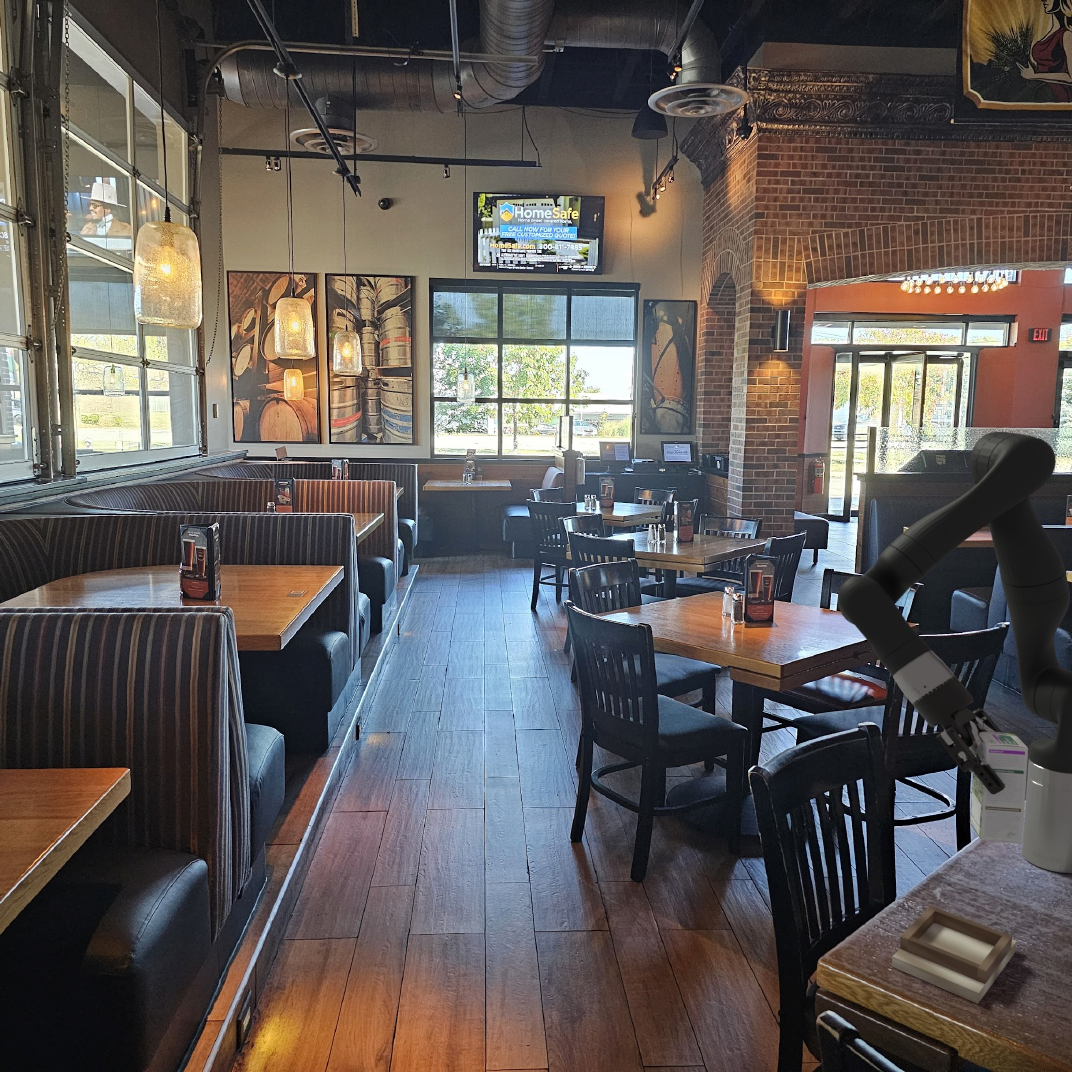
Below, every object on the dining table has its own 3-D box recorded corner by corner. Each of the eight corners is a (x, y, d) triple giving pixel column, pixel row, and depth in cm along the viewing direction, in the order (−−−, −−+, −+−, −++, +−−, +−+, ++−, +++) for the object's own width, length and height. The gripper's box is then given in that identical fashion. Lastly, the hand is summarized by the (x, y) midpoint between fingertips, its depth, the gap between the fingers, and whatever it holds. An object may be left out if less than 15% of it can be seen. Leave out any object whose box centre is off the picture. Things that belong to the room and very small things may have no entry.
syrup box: (1023, 845, 122) (1031, 747, 121) (978, 840, 124) (986, 743, 122) (1010, 827, 128) (1017, 733, 126) (967, 822, 129) (974, 729, 127)
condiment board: (935, 919, 129) (936, 899, 128) (1016, 950, 121) (1017, 928, 121) (891, 966, 118) (893, 943, 117) (977, 1003, 110) (979, 979, 110)
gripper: (933, 684, 123) (1015, 785, 116) (968, 665, 133) (1045, 757, 127) (894, 711, 127) (971, 810, 121) (930, 691, 138) (1003, 781, 131)
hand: (1009, 783), depth 124 cm, fingers closed on syrup box, 8 cm apart
